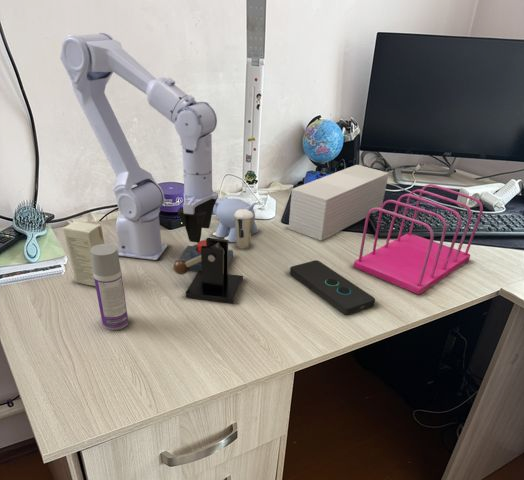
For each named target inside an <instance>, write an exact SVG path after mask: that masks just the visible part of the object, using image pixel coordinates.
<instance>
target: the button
mask: <svg viewBox="0 0 524 480" xmlns="http://www.w3.org/2000/svg"><path fill="white" fill-rule="evenodd" d="M196 244H197V250H198V252H200V253H201V247H202V246H206V239H204V240H203V239H202V240H200V242H199V243H197V242H196Z"/></svg>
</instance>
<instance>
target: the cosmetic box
mask: <svg viewBox="0 0 524 480" xmlns="http://www.w3.org/2000/svg"><path fill="white" fill-rule="evenodd" d="M62 230H63V235H64V238H65V243H66V247H67V251H68V256H69V259H70V264H71V268H72V269H71V270H72V273H73V277H74V281H75V283H77V284H81V285H82V284H83V285H87V286H91V287H96V286H95V281H94V275H93V268H92V261H91V255H90V249H91V248H92V247H93V246H95V245H99V244H105V239H104V234H103V228H102V224H98V223H92V222H87V221H81V220H75V221H73V222H71V223H69V224H66V225H65V226H63V227H62Z"/></svg>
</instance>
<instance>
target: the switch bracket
mask: <svg viewBox="0 0 524 480" xmlns="http://www.w3.org/2000/svg"><path fill="white" fill-rule="evenodd" d="M205 240H206V246H202V247H201V264H202V271H200V270H199V271H196V274H195V276H194V277H193V280H192V281H191V283H190V284H189V286H188V288H187V289H186V291H185V298H186V299H194V300H202V301H208V302H217V303H226V304H235V301H236V299H237V297H238V294H239V292H240V289H241V287H242V284H243V282H244V275H239V274H232V273H229V267H228V250H229V241H228V240H225V239H224V238H214V237H206V239H205ZM218 242H219V243H220V245H221V246H222V248H217V247H209V246H212V245H214V244H216V243H218ZM224 251H225V253H224Z"/></svg>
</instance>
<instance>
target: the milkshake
mask: <svg viewBox="0 0 524 480" xmlns="http://www.w3.org/2000/svg"><path fill="white" fill-rule="evenodd" d="M234 218H235V227H236V242H235V243H236V247H237V248H238V249H241V250H246V249H249V248H250V246H251V236H252V234H251V229H252V222H253V213H252V212H251V211H249V210H247V209H239V210H237V211H236V212H235V214H234Z"/></svg>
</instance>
